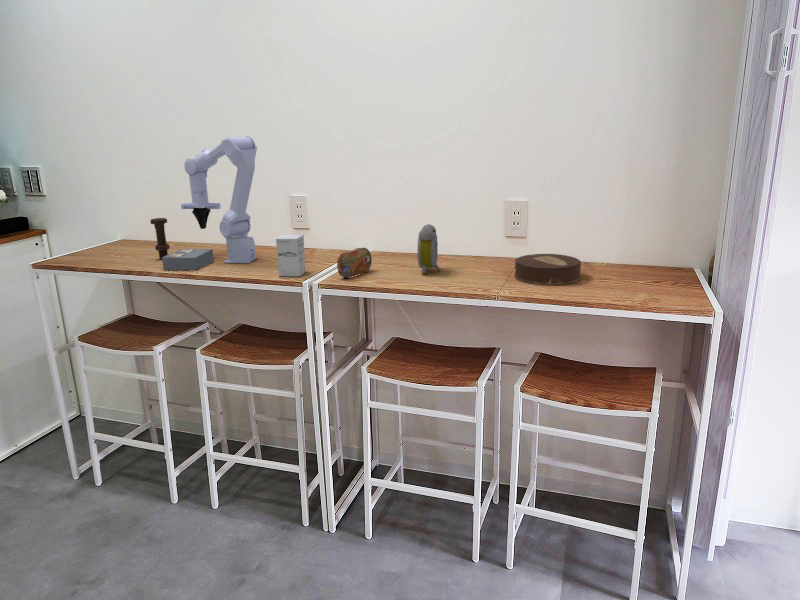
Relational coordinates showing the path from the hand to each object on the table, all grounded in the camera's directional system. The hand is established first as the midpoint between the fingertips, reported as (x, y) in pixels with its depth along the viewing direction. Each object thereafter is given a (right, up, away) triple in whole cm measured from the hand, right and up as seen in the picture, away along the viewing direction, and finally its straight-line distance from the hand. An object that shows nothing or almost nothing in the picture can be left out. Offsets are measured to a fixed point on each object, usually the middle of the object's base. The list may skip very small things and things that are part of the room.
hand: (203, 228), depth 236 cm
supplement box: (+38, -18, -28) cm, 51 cm away
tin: (+59, -19, -31) cm, 69 cm away
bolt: (-14, -12, -1) cm, 19 cm away
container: (+119, -20, -40) cm, 127 cm away
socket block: (-1, -15, -12) cm, 19 cm away
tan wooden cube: (-3, -13, -9) cm, 16 cm away
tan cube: (-4, -15, -15) cm, 22 cm away
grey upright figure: (+83, -18, -30) cm, 90 cm away
